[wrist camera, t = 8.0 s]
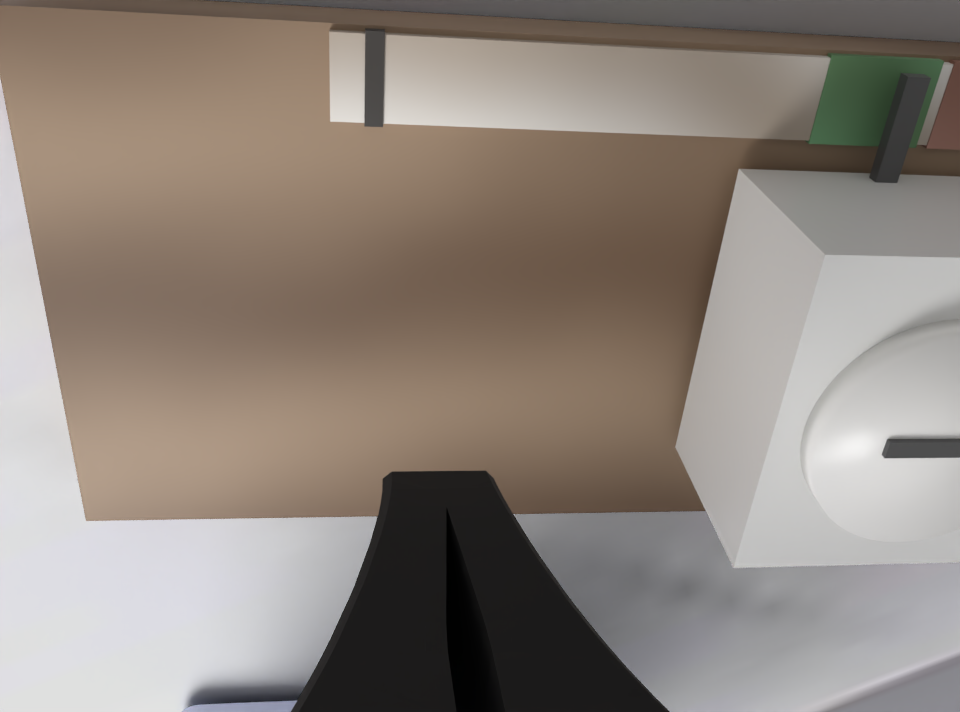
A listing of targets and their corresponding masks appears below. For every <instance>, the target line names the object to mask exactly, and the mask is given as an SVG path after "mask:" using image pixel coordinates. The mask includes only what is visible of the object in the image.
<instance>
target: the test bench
mask: <svg viewBox="0 0 960 712" xmlns="http://www.w3.org/2000/svg"><path fill="white" fill-rule="evenodd" d="M901 73H912V74H924V75H926V76H928V77H930V78H931V80H930V83H929V86H928V89H927V92H926V96H925V99H924V102H923V105H922V108H921V111H920V114H919V117H918V120H917V123H916V127H915V130H914V133H913V136H912V139H911V142H910V145H909V148H908V151H907V154H906V157H905V161H904V164H903V167H902V170H901V173H900V174H903V175H932V176H960V43H957V42H939V41H921V40H903V39H885V38H867V37H850V36H832V35H814V34H796V33H778V32H760V31H742V30H724V29H706V28H688V27H671V26H653V25H635V24H617V23H599V22H581V21H563V20H545V19H527V18H509V17H492V16H474V15H456V14H438V13H420V12H402V11H384V10H366V9H348V8H331V7H313V6H295V5H277V4H259V3H241V2H223V1H205V0H0V78H1V83H2V88H3V93H4V98H5V104H6V109H7V114H8V119H9V124H10V130H11V135H12V140H13V145H14V150H15V155H16V161H17V166H18V171H19V176H20V181H21V187H22V192H23V197H24V202H25V207H26V212H27V218H28V223H29V228H30V233H31V238H32V243H33V249H34V254H35V259H36V264H37V269H38V275H39V280H40V285H41V290H42V295H43V300H44V306H45V311H46V316H47V321H48V326H49V332H50V337H51V342H52V347H53V352H54V357H55V363H56V368H57V373H58V378H59V383H60V389H61V394H62V399H63V404H64V409H65V414H66V420H67V425H68V430H69V435H70V440H71V446H72V451H73V456H74V461H75V466H76V471H77V477H78V482H79V487H80V492H81V497H82V502H83V508H84V513H85V518H86V521H105V520H167V519H230V518H292V517H355V516H378V513H379V509H380V503H381V497H382V481H383V478H384V477H385V476H387V475H388V474H389V473H390V472H392V471H487V472H488V473H489V474H490V475H491V476H492V477H493V478H494V480H495V482H496V484H497V486H498V488H499V490H500V492H501V493H502V495H503V497H504V499H505V501H506V503H507V504H508V506H509V508H510V510H511V511H512V513H513V514H543V513H605V512H668V511H706V510H705V508H704V506H703V504H702V502H701V500H700V498H699V496H698V494H697V491H696V489H695V487H694V485H693V483H692V481H691V479H690V477H689V475H688V473H687V471H686V468H685V466H684V464H683V462H682V460H681V458H680V456H679V454H678V452H677V450H676V448H675V446H676V442H677V437H678V433H679V429H680V424H681V420H682V415H683V411H684V407H685V402H686V398H687V394H688V389H689V385H690V380H691V376H692V372H693V367H694V363H695V358H696V354H697V350H698V345H699V341H700V337H701V332H702V328H703V323H704V319H705V315H706V310H707V306H708V301H709V297H710V293H711V288H712V284H713V280H714V275H715V271H716V266H717V262H718V258H719V253H720V249H721V244H722V240H723V236H724V231H725V227H726V223H727V218H728V214H729V209H730V205H731V201H732V196H733V192H734V187H735V183H736V179H737V174H738V170H739V169H761V170H789V171H818V172H846V173H871V169H872V166H873V163H874V160H875V156H876V153H877V150H878V146H879V143H880V140H881V137H882V133H883V130H884V127H885V124H886V120H887V117H888V114H889V110H890V107H891V104H892V101H893V97H894V94H895V91H896V88H897V84H898V81H899V78H900V75H901Z"/></svg>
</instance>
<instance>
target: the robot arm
mask: <svg viewBox="0 0 960 712" xmlns="http://www.w3.org/2000/svg"><path fill="white" fill-rule="evenodd" d="M182 712H669V711H668V710H667V709H666V708H665V707H664V706H663V705H662V704H661V703H660V702H659V701H658V700H657V699H656V698H655V697H654V696H653V695H652V694H651V693H650V692H649V691H648V689H647V688H646V687H645V686H644V685H643V684H642V683H641V682H640V681H639V680H638V679H637V678H636V677H635V676H634V675H633V674H632V673H631V671H630V670H629V669H628V668H627V667H626V666H625V665H624V664H623V663H622V662H621V660H620V659H619V658H618V657H617V656H616V655H615V654H614V652H613V651H612V650H611V649H610V648H609V647H608V645H607V644H606V643H605V642H604V641H603V640H602V638H601V637H600V636H599V635H598V633H597V632H596V631H595V630H594V628H593V627H592V626H591V625H590V624H589V622H588V621H587V620H586V619H585V617H584V616H583V615H582V614H581V612H580V611H579V610H578V608H577V607H576V606H575V605H574V603H573V602H572V601H571V599H570V598H569V597H568V595H567V594H566V593H565V591H564V590H563V588H562V587H561V586H560V584H559V583H558V581H557V580H556V579H555V577H554V576H553V574H552V573H551V571H550V570H549V569H548V567H547V566H546V564H545V563H544V562H543V560H542V559H541V557H540V556H539V554H538V553H537V551H536V550H535V548H534V547H533V545H532V544H531V542H530V541H529V539H528V537H527V536H526V534H525V533H524V531H523V529H522V528H521V526H520V525H519V523H518V521H517V520H516V518H515V516H514V515H513V513H512V511H511V510H510V508H509V506H508V504H507V503H506V501H505V499H504V497H503V495H502V493H501V492H500V490H499V488H498V486H497V484H496V482H495V480H494V478H493V477H492V476H491V475H490V474H489V473H488V472H487V471H392V472H390V473H389V474H388V475H387V476H385V477H384V478H383V481H382V497H381V503H380V509H379V513H378V517H377V521H376V525H375V528H374V532H373V535H372V539H371V542H370V545H369V548H368V551H367V553H366V556H365V559H364V562H363V564H362V567H361V570H360V572H359V575H358V578H357V581H356V583H355V586H354V588H353V591H352V593H351V596H350V598H349V600H348V602H347V604H346V606H345V609H344V611H343V613H342V615H341V617H340V620H339V622H338V624H337V626H336V628H335V630H334V633H333V635H332V637H331V639H330V641H329V643H328V645H327V647H326V649H325V651H324V653H323V655H322V657H321V659H320V661H319V663H318V665H317V666H316V668H315V670H314V672H313V674H312V676H311V677H310V679H309V681H308V683H307V684H306V686H305V688H304V690H303V691H302V693H301V695H300V697H299V698H298V700H294V701H270V702H246V703H222V704H199V705H193V706H190V707H188V708H186V709H184V710H183V711H182Z"/></svg>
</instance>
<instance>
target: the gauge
mask: <svg viewBox="0 0 960 712" xmlns="http://www.w3.org/2000/svg"><path fill="white" fill-rule="evenodd" d="M930 80H931V78H930V77H928V76H926V75H924V74H912V73H901V75H900V78H899V81H898V84H897V88H896V91H895V94H894V97H893V101H892V104H891V107H890V110H889V114H888V117H887V120H886V124H885V127H884V130H883V133H882V137H881V140H880V143H879V146H878V150H877V153H876V156H875V160H874V163H873V166H872V169H871V173H846V172H818V171H789V170H761V169H739V170H738V174H737V179H736V183H735V187H734V192H733V196H732V201H731V205H730V209H729V214H728V218H727V223H726V227H725V231H724V236H723V240H722V244H721V249H720V253H719V258H718V262H717V266H716V271H715V275H714V280H713V284H712V288H711V293H710V297H709V301H708V306H707V310H706V315H705V319H704V323H703V328H702V332H701V337H700V341H699V345H698V350H697V354H696V358H695V363H694V367H693V372H692V376H691V380H690V385H689V389H688V394H687V398H686V402H685V407H684V411H683V415H682V420H681V424H680V429H679V433H678V437H677V442H676V446H675V448H676V450H677V452H678V454H679V456H680V458H681V460H682V462H683V464H684V466H685V468H686V471H687V473H688V475H689V477H690V479H691V481H692V483H693V485H694V487H695V489H696V491H697V494H698V496H699V498H700V500H701V502H702V504H703V506H704V508H705V510H706V512H707V514H708V516H709V519H710V521H711V523H712V525H713V527H714V529H715V531H716V533H717V535H718V537H719V539H720V542H721V544H722V546H723V548H724V550H725V552H726V554H727V556H728V558H729V560H730V562H731V565H732V567H733V568H762V567H803V566H843V565H884V564H924V563H960V176H932V175H903V174H900V173H901V170H902V167H903V164H904V161H905V157H906V154H907V151H908V148H909V145H910V142H911V139H912V136H913V133H914V130H915V127H916V123H917V120H918V117H919V114H920V111H921V108H922V105H923V102H924V99H925V96H926V92H927V89H928V86H929V83H930Z"/></svg>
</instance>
